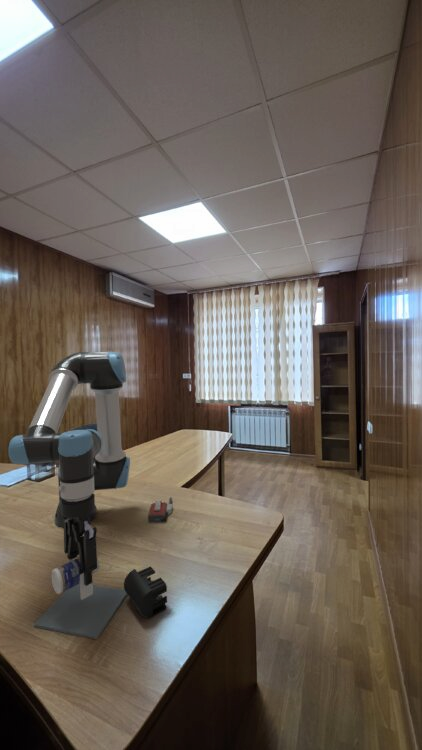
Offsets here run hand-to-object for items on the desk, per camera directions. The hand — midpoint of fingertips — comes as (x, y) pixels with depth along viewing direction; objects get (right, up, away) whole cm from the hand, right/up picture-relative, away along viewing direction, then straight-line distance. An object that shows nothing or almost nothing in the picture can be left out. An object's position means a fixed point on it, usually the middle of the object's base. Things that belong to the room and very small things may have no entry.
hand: (81, 589), depth 76 cm
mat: (+1, -4, 0) cm, 5 cm away
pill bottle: (-4, +5, -5) cm, 8 cm away
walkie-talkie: (+12, -3, +49) cm, 51 cm away
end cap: (+16, -4, 0) cm, 16 cm away
